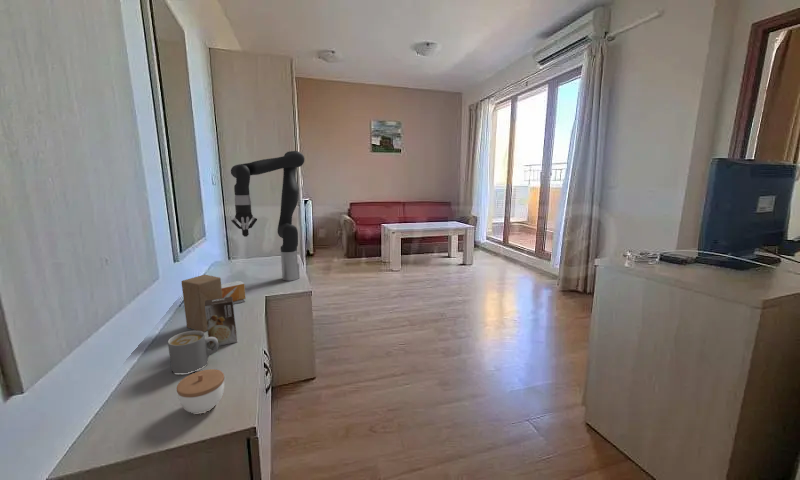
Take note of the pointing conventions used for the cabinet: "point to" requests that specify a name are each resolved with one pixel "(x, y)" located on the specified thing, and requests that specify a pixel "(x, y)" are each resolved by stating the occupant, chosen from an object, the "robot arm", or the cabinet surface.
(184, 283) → the wooden block
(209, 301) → the coffee box
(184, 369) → the coffee mug
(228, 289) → the small box
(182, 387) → the lidded jar
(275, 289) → the cabinet surface
